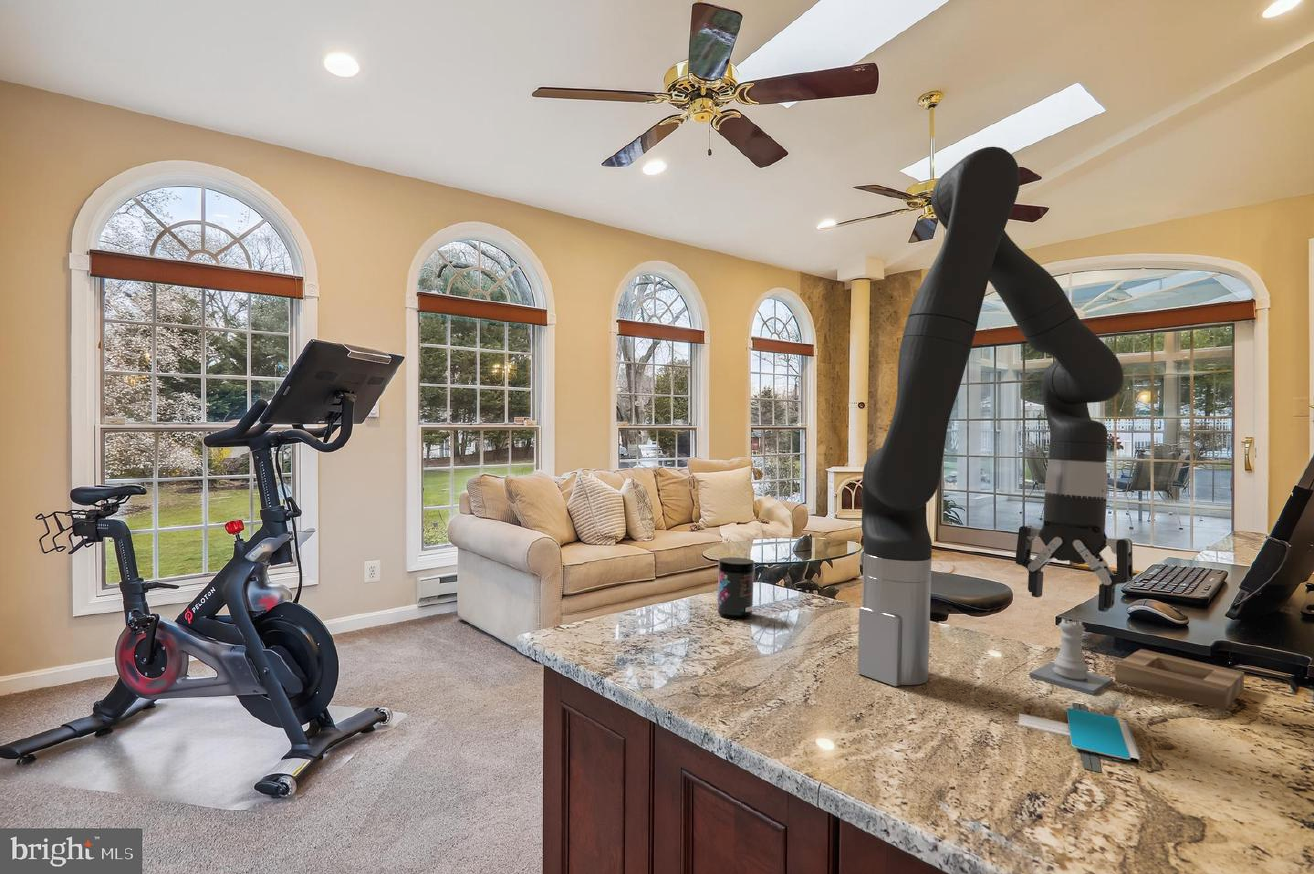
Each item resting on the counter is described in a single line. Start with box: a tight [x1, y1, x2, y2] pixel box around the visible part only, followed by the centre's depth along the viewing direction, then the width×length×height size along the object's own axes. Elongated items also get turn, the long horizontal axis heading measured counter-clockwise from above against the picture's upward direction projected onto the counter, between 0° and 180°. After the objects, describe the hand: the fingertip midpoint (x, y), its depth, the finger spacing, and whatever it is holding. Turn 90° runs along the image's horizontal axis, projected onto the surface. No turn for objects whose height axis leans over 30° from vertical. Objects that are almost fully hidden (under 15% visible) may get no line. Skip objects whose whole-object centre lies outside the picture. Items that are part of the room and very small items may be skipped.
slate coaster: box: [1028, 661, 1114, 696], centre depth 92 cm, size 8×8×1 cm
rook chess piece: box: [1052, 617, 1090, 680], centre depth 92 cm, size 4×4×8 cm
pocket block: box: [1114, 648, 1245, 711], centre depth 91 cm, size 12×12×2 cm
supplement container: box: [717, 556, 755, 620], centre depth 121 cm, size 7×7×10 cm
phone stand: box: [1018, 702, 1145, 773], centre depth 74 cm, size 20×12×2 cm, turn 150°
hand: (1069, 603), depth 92 cm, fingers open, 8 cm apart
